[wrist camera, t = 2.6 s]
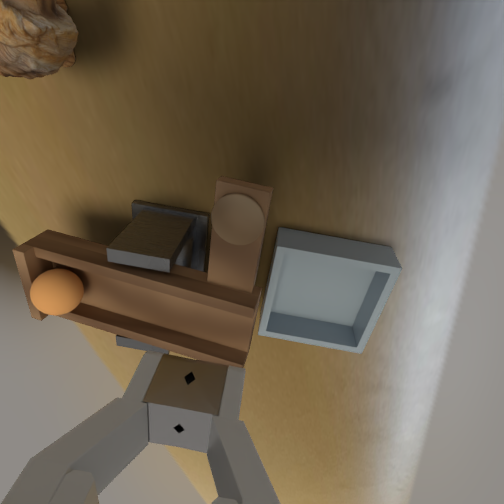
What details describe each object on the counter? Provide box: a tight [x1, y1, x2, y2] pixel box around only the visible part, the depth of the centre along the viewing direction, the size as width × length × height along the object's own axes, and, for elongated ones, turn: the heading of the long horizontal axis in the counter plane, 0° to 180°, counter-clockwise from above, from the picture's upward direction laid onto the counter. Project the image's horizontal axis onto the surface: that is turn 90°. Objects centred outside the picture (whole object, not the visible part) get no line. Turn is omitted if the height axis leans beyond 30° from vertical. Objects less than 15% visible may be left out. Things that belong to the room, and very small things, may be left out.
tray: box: [258, 227, 402, 354], centre depth 27 cm, size 9×9×3 cm
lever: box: [13, 176, 273, 368], centre depth 21 cm, size 13×16×3 cm
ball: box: [30, 269, 84, 315], centre depth 23 cm, size 3×3×3 cm
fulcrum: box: [106, 200, 209, 354], centre depth 26 cm, size 9×6×7 cm, turn 172°
